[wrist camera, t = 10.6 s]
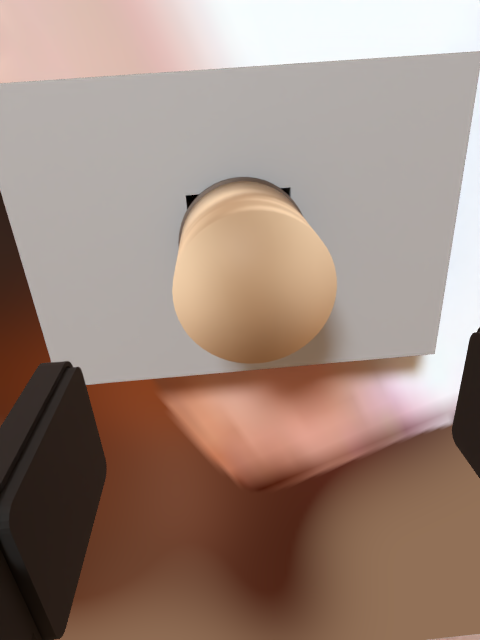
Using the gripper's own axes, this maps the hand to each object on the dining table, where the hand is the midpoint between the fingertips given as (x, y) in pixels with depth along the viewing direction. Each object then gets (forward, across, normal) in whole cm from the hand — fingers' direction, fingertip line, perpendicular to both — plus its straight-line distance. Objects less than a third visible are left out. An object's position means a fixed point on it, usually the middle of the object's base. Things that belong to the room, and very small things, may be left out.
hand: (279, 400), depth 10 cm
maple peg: (+15, 0, 0) cm, 15 cm away
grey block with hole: (+16, 0, 0) cm, 16 cm away
